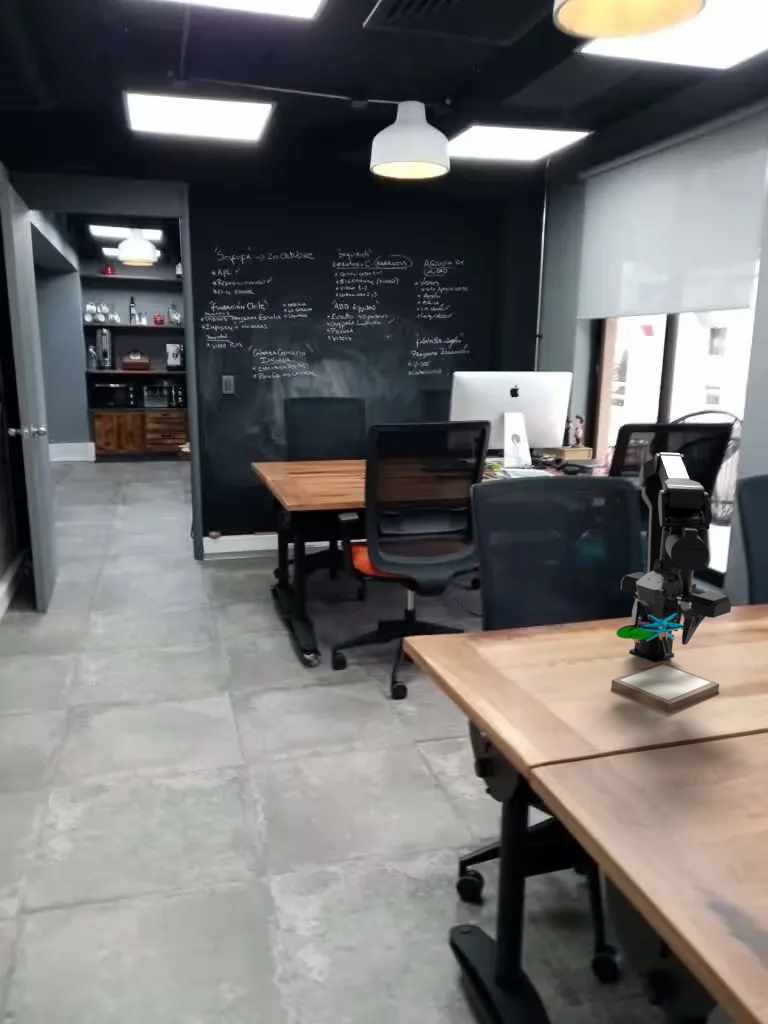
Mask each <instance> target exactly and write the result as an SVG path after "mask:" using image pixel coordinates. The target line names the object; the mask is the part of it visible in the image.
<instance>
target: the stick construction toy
mask: <svg viewBox="0 0 768 1024" xmlns="http://www.w3.org/2000/svg"><path fill="white" fill-rule="evenodd" d="M675 616H676V618H678V614H677V613H674V614H673V615H671V616H669V617H667V618H666V617H665V616H663V619H664V620H662V619H656V618H655V617H653V616H652V615H650V614H649V615H648V617H649V620H651V619H652V620H653V621H654V622H656V623H653V624H649V625H644V626H642V625H640V626H637V625H633V624H629V625H625V626H622V627H620V628H619V629H617V630H616V632H615V633H616V637H618V638H621V639H624V640H625V639H626V640H627V639H631V640H633V643H634V645H635V644H636V648H640V645H639V644H640V641H639V640H642V639H646V641H649V640H651V639H653V638H655V637H657V636H658V638H660V639H661V640H662V642H663V646H664V651H665V655H666V656H669V655H670V652H669V648H668V643H667V639H668V637H669V638H671V639H672V640H673V641H674V640H675V636H674V634H672V635H670V634H669V633H668V631H672V632H674V631H673V630H677V629H678V630H682V631H683V625H684V621H683V622H682V624H681V623H680V624H675V623H667V622H668V621H669V620H671V619H672V618H674V617H675ZM655 626H658V629H655V628H650V627H655ZM665 626H674V627H671V628H665ZM654 632H656V633H655V634H654ZM648 637H649V638H648Z"/></svg>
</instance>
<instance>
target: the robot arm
mask: <svg viewBox="0 0 768 1024" xmlns="http://www.w3.org/2000/svg"><path fill="white" fill-rule="evenodd" d="M684 459H685V458H684V454H683V453H682V454H681V453H679V452H662V451H661V452H658V453H655V455H654V457H653V458H651V459H649V460H647V461H645V462H644V463H642V465H641V468H640V472H639V476H638V478H639V479H638V480H639V481H638V484H639V485H638V486H639V488H641V497H642V499H643V501H644V502H645V504H646V505H647V508H648V509H649V511H648V512H649V514H648V515H649V516H648V536H647V537H648V542H647V543H648V545H647V569H646V570H647V571H646V572H647V573H646V572H642V571H637V572H633V573H629V574H626V575H624V576H623V577H622V579H621V581H620V582H621V583H620V590H621V591H622V592H625V593H629V594H632V595H633V598H634V599H635V600H634V603H633V607H632V610H631V622H632V625H637V626H640V625H642V626H644V625H649V624H653V623H656V622H654V621H653V620H652V619H651V620H649V617H648V615H649V614H650V615H652V616H653V617H655V618H656V619H662V620H664V619H663V616H665V617H666V618H667V617H669V616H671V615H673V614H674V613H677V614H678V618H676V616H675V617H674V618H672V619H671V620H669V621H668V622H667V623H675V624H681V621H682V617H683V619H684V620H683V622H684V625H683V624H682V625H683V630H682V635H681V644H682V645H683V646H685V645H688V643H689V642H690V640H691V639H692V637H693V635H694V634H695V633H696V630H697V629H698V627H699V626H700V625H701V623H702V622H703V620H704V619H705V618H713V619H714V618H717V617H719V616H723V615H726V614H728V613H731V609H732V602H731V600H730V597H729V596H728V595H725V594H721V593H718V592H715V591H711V590H710V591H707V592H703V593H699V594H698V593H696V592H695V593H694V592H692V591H694V590H697V583H695V582H693V580H694V579H693V578H694V571H697V570H698V569H700V568H701V567H703V566H704V565H705V564H706V562H707V561H708V558H709V550H708V546H707V545H706V544H705V542H704V541H703V540H702V539H701V537H700V530H710V524H712V521H713V514H712V505H711V498H709V493H708V492H706V491H705V487H704V486H703V485H702V484H701V483H700V482H699V481H698V482H697V481H696V480H692V479H690V476H689V474H688V471H687V464H686V463H685V460H684ZM681 602H684V603H686V604H688V608H686V609H683V607H682V604H681ZM671 627H674V626H665V628H671ZM650 628H655V629H658V626H655V627H650ZM678 631H679V629H677V630H673V631H668V633H669V634H670V635H673V632H678ZM655 633H656V632H654V634H655ZM648 638H649V637H648ZM639 641H640V644H639V645H640V648H636V644H635V643H634V648H631V649H629V653H630V654H632V655H635V656H638V657H640V658H643V659H645V660H648V661H651V662H652V663H653V662H654V663H660V662H662V661H665V660H667V659H670V658H673V657H674V656H675V652H673V645H674V644H673V642H674V640H672V639H671V638H669V637H668V639H667V643H668V648H669V652H670V655H669V656H666V655H665V651H664V646H663V642H662V640H661V639H660V638H658V636H657V637H655V638H653V639H651V640H649V641H646V639H642V640H639Z"/></svg>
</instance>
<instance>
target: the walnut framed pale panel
mask: <svg viewBox="0 0 768 1024" xmlns="http://www.w3.org/2000/svg"><path fill="white" fill-rule="evenodd" d="M610 687H611V689H612V690H615V691H617V692H619V693H622V694H624V695H627V696H629V697H631V698H632V699H636V700H638V701H640V702H642V703H644V704H647V705H649V706H652V707H654V708H657V709H659V710H662V711H664V712H666V713H668V714H669V713H670V714H671V713H672V712H674V711H677V710H679V709H680V708H683V707H685V706H688V705H691V704H692V703H695V702H697V701H700V700H701V699H704V698H707V697H708V696H711V695H713V694H716V693H717V692H719V688H720V683H718V682H715V681H713V680H710V679H708V678H705V677H702V676H700V675H697V674H695V673H692V672H689V671H687V670H684V669H682V668H679V667H677V666H673V665H671V664H667V663H665V662H662V661H660V662H657V663H656V664H652V665H650V666H647V667H644V668H642V669H641V668H640V669H638V670H636V671H632V672H630V673H628V674H624V675H621V676H619V677H616V678H614V679H613V678H612V679H611V686H610Z"/></svg>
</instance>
